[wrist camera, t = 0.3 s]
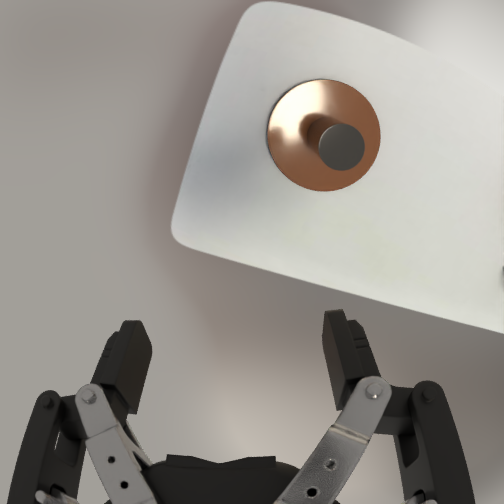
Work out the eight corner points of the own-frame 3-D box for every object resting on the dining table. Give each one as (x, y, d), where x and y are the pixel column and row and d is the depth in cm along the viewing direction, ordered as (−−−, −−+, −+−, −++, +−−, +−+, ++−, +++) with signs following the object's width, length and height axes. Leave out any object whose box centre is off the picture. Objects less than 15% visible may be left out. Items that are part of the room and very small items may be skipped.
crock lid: (262, 81, 27) (265, 79, 21) (375, 82, 26) (404, 83, 20) (271, 191, 33) (275, 216, 27) (374, 185, 32) (398, 209, 27)
